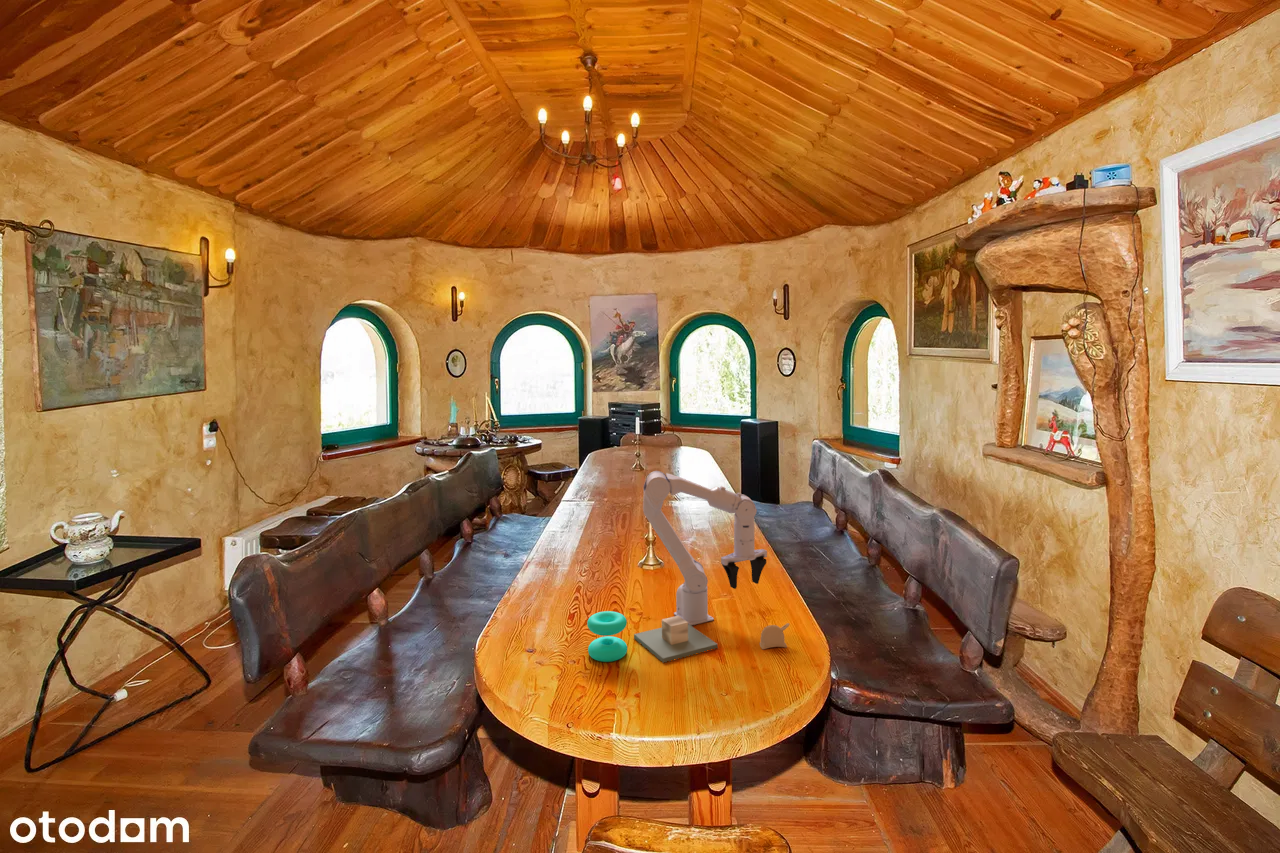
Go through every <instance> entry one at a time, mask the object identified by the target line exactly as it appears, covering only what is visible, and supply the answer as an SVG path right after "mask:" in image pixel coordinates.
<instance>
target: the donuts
mask: <svg viewBox="0 0 1280 853" xmlns="http://www.w3.org/2000/svg"><path fill="white" fill-rule="evenodd" d="M586 623H587V624H586V625H587V628H588V630H589V631H590V632H591V633H593V634H595V635H598V636H600V637H598V638H595V639H594V640H592V641H591V642H590V644H589V645H588V648H587V651H588V652H587V653H588V655H589V656H590V657H591V659H594V660H595V661H598V662H602V663H604V662H605V663H609V662H610V663H611V662H615V661H618V660H621V659H622V658H623V657H625V656H626V654H627V652H628V645H627V643H626V642H625V640H624V639H622V638H619V637H617V636H614V635H618V634H620V633H621V632H622V631H624V630H625V628H626V627H627V625H628V624H627V623H628V621H627V618H626V616H624V614H623V613H620V612H618V611H613V610H612V611H610V610H605V611H599V612H596V613H594V614H592V615H590V617H588V620H587V622H586Z"/></svg>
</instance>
